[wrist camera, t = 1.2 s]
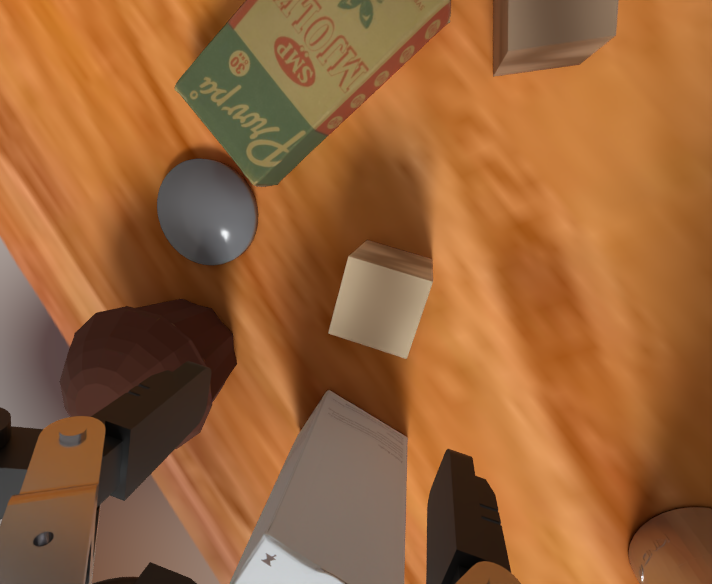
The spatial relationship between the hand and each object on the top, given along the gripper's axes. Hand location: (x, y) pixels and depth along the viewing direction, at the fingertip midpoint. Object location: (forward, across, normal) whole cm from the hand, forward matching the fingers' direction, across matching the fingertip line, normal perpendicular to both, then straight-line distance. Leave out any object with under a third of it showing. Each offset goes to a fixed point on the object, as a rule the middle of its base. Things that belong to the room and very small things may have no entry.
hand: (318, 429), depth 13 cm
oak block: (+18, 0, -1) cm, 18 cm away
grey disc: (+18, +15, -2) cm, 23 cm away
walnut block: (+18, -4, -19) cm, 26 cm away
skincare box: (+18, -1, +13) cm, 23 cm away
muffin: (+18, +15, +10) cm, 26 cm away
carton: (+19, +9, -14) cm, 25 cm away
